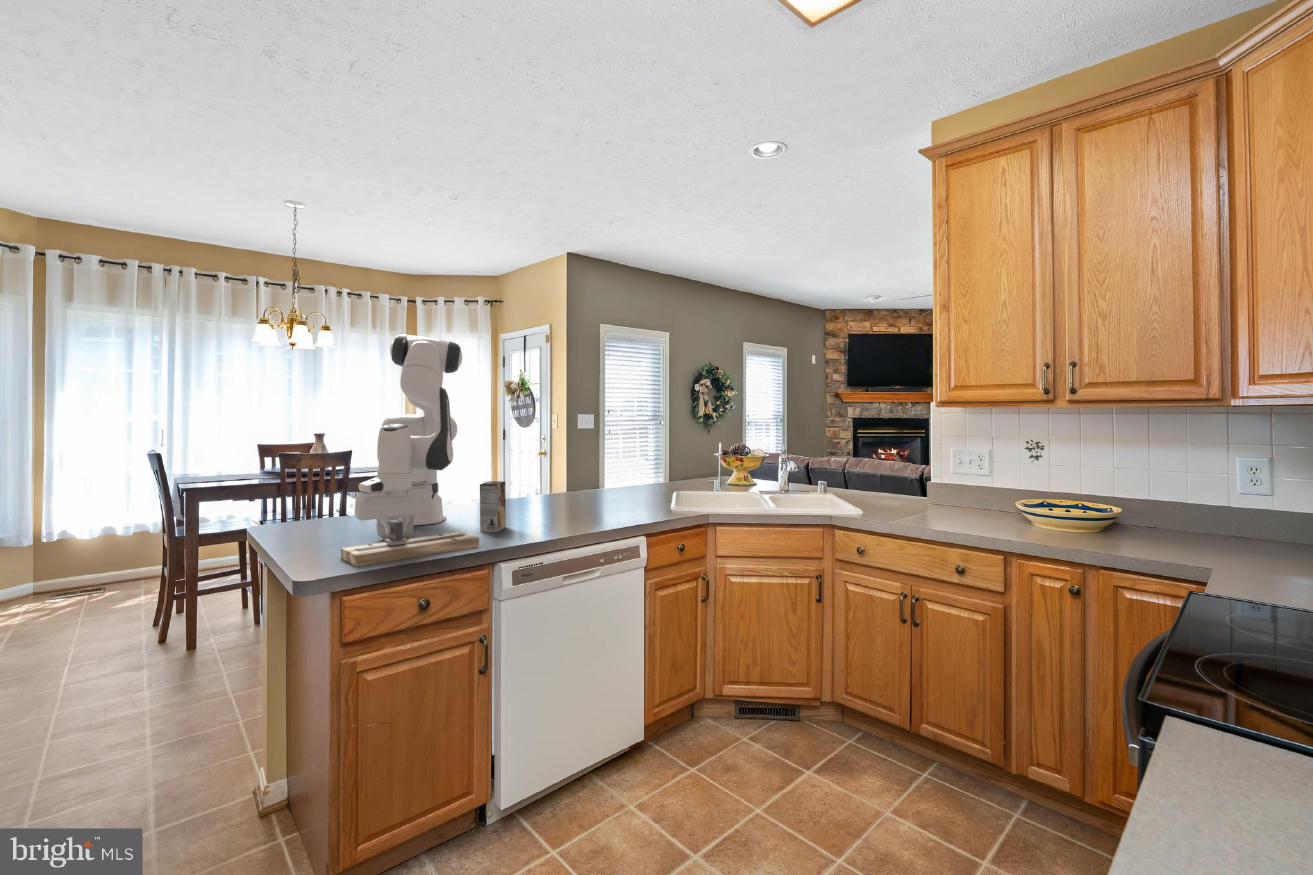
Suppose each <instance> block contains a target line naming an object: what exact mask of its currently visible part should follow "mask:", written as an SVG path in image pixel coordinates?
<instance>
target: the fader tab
mask: <svg viewBox="0 0 1313 875" xmlns="http://www.w3.org/2000/svg"><path fill="white" fill-rule="evenodd" d="M388 525H389V527H393V534H388V539H385V540H384V542H385V543H387V544H389V545H399V544H406V543H407V540H406V539H403V522H400V521H397V520H391V521H389V522H388Z"/></svg>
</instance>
